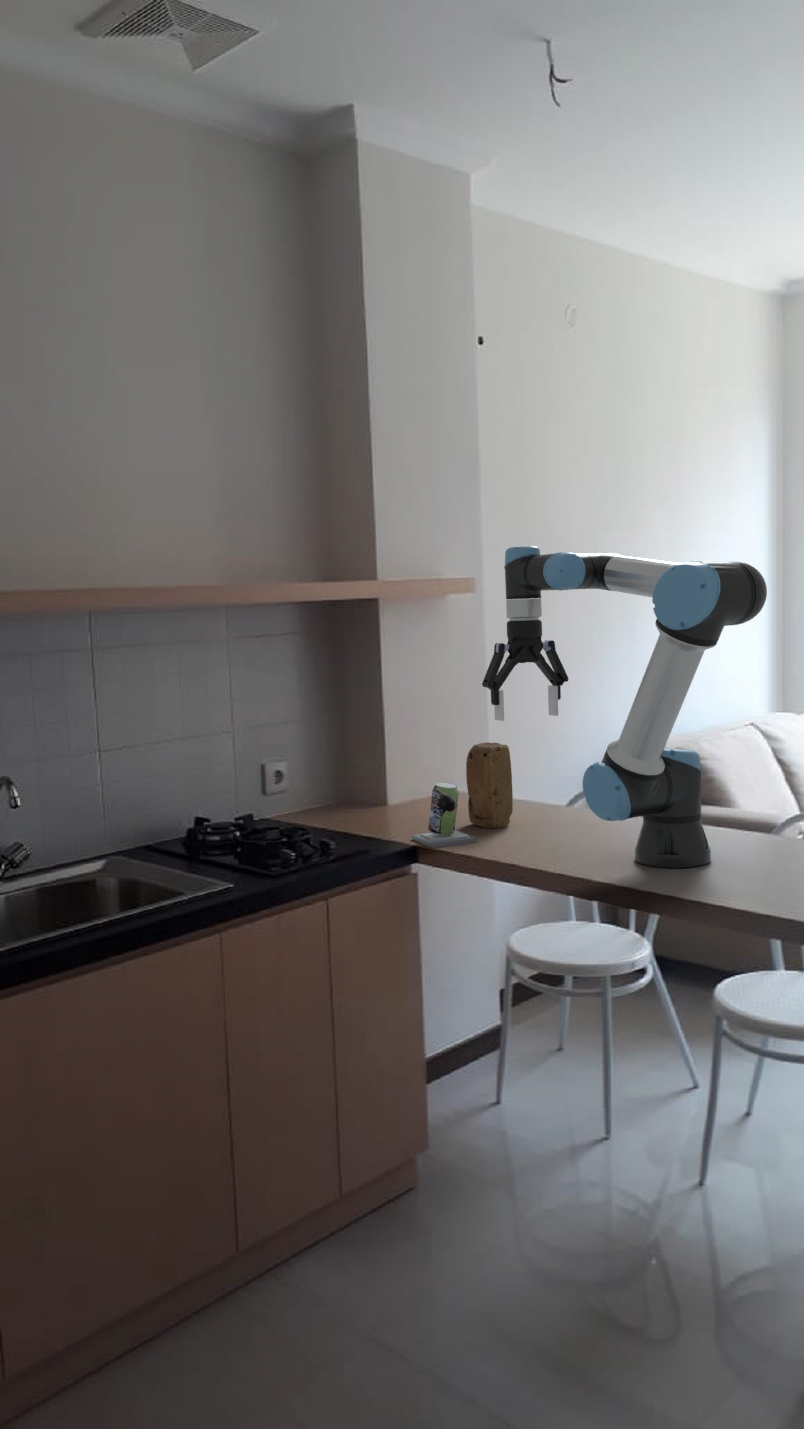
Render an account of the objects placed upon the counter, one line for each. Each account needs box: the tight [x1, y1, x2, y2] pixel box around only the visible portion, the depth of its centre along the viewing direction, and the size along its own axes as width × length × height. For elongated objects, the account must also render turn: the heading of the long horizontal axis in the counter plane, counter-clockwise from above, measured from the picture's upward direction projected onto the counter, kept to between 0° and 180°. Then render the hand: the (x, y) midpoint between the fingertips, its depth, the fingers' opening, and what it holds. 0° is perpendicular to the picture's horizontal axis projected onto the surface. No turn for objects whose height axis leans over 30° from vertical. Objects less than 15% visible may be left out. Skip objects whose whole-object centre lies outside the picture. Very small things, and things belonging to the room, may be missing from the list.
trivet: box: [411, 829, 478, 849], centre depth 259 cm, size 11×11×1 cm
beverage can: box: [428, 781, 460, 836], centre depth 258 cm, size 6×7×12 cm
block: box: [465, 742, 514, 829], centre depth 273 cm, size 11×8×20 cm
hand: (526, 717), depth 245 cm, fingers open, 13 cm apart
